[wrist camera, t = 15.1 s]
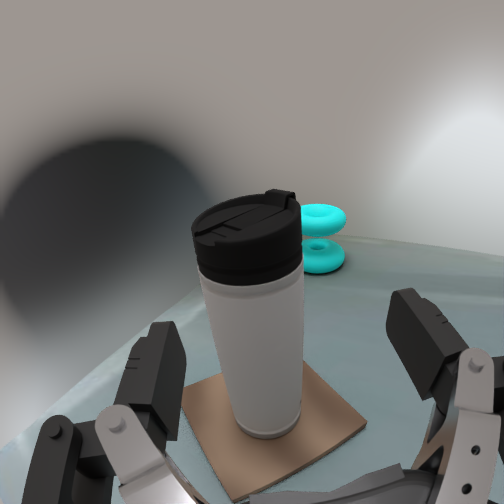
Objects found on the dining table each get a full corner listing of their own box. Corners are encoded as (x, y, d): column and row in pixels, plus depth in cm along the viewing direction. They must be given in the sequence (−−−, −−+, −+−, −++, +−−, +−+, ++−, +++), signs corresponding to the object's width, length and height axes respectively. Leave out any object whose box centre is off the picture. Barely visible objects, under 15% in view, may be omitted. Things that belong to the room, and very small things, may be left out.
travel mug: (316, 407, 24) (328, 196, 15) (266, 452, 20) (236, 235, 12) (270, 377, 28) (252, 184, 20) (222, 413, 25) (167, 211, 16)
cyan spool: (358, 212, 46) (311, 225, 42) (355, 264, 50) (311, 283, 46) (321, 198, 54) (276, 209, 50) (321, 246, 58) (280, 260, 55)
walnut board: (286, 350, 33) (286, 343, 33) (365, 427, 22) (367, 421, 22) (177, 396, 28) (174, 390, 28) (234, 503, 17) (231, 500, 16)
